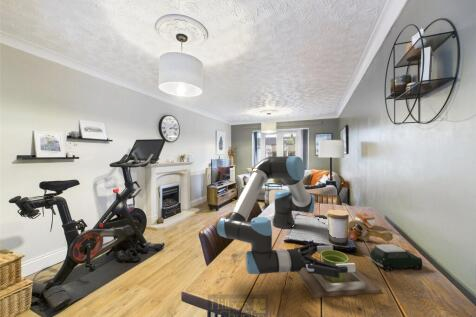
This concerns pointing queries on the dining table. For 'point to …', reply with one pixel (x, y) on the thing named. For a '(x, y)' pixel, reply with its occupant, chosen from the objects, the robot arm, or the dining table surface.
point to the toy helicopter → (365, 230)
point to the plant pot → (334, 262)
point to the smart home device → (321, 216)
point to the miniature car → (394, 257)
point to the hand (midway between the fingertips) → (342, 257)
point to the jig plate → (338, 284)
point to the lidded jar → (369, 218)
